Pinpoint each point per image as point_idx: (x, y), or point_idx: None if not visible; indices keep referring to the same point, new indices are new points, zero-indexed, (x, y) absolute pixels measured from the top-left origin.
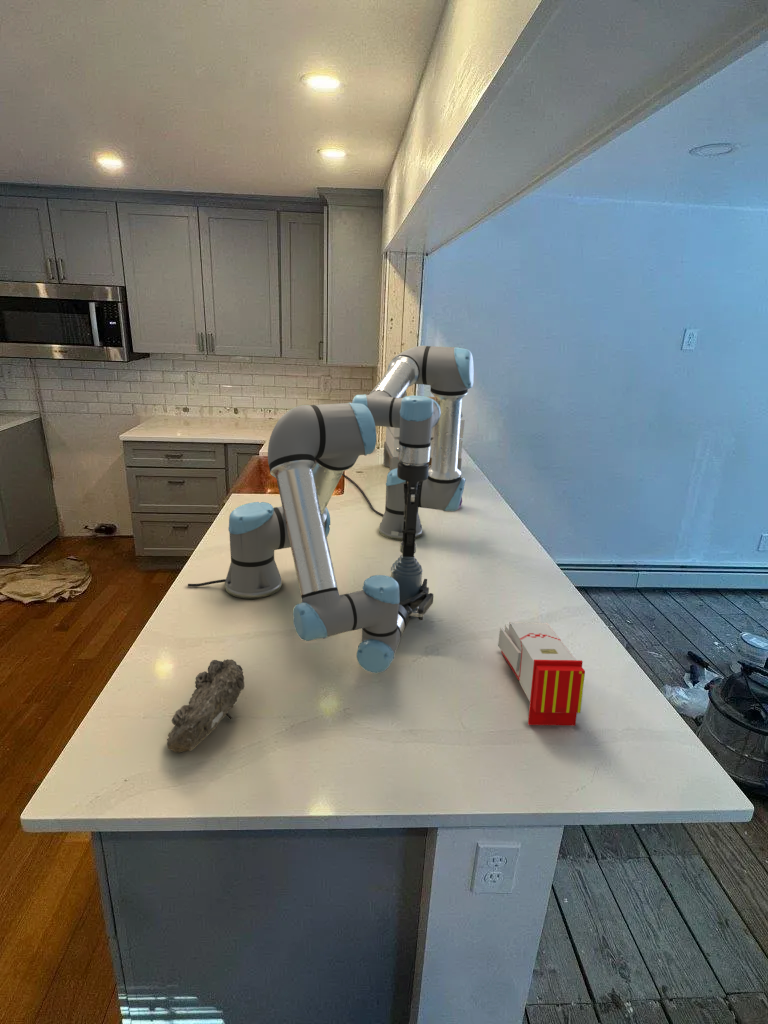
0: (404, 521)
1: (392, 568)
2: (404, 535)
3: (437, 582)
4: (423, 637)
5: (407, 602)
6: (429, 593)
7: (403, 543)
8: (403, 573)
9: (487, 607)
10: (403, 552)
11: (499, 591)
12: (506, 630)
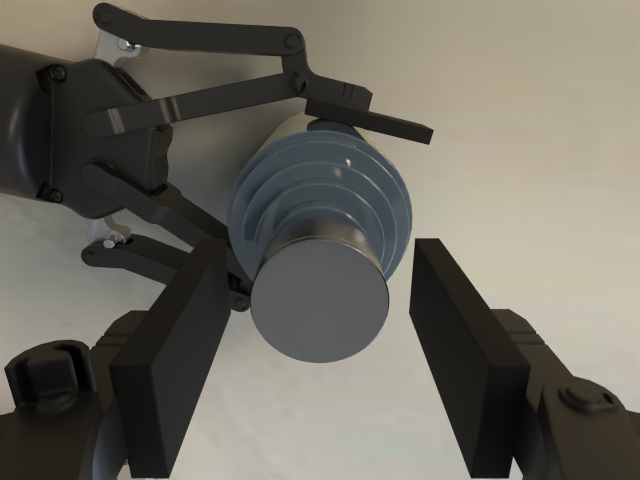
0: (519, 374)
1: (300, 142)
2: (131, 341)
3: (541, 299)
4: (148, 229)
5: (122, 203)
6: (246, 296)
7: (320, 266)
8: (233, 208)
9: (361, 424)
10: (192, 254)
11: (464, 467)
12: (125, 477)
